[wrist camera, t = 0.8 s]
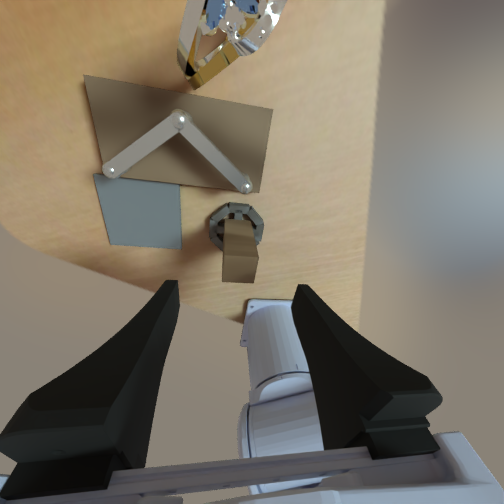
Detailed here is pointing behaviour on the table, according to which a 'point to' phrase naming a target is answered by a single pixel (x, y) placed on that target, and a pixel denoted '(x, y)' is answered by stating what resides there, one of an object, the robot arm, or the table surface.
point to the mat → (140, 212)
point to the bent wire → (166, 131)
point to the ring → (231, 22)
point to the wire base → (178, 147)
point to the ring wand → (237, 241)
